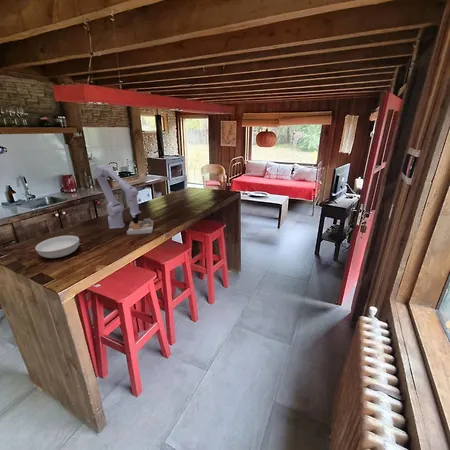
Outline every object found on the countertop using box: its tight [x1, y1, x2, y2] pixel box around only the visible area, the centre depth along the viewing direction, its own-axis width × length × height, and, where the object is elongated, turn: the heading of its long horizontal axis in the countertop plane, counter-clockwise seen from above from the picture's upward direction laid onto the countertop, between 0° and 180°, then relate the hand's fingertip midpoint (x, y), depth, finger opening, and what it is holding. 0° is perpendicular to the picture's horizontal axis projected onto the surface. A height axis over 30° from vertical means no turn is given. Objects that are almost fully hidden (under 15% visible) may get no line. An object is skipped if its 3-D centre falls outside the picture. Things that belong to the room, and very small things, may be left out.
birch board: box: [128, 219, 155, 229], centre depth 183 cm, size 16×10×2 cm, turn 101°
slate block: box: [143, 218, 152, 224], centre depth 183 cm, size 4×4×2 cm
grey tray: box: [126, 225, 154, 236], centre depth 174 cm, size 16×9×3 cm, turn 101°
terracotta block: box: [132, 223, 140, 230], centre depth 175 cm, size 4×4×2 cm
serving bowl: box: [34, 235, 80, 259], centre depth 143 cm, size 21×21×7 cm
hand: (136, 224), depth 178 cm, fingers closed
